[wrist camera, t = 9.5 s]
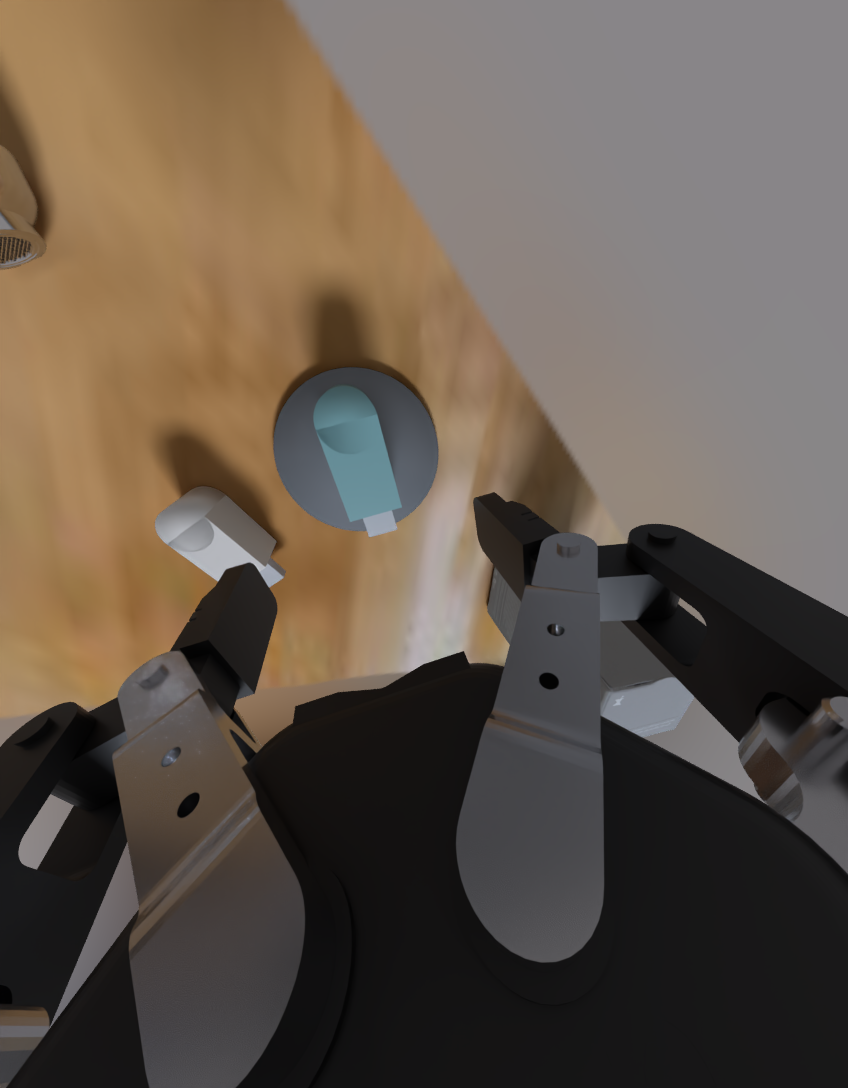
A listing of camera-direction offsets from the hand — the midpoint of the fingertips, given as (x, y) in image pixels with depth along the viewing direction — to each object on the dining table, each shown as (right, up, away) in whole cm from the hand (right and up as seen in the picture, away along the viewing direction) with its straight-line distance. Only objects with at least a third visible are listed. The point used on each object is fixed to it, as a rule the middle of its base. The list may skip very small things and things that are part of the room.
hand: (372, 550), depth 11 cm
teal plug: (-3, +7, +12) cm, 14 cm away
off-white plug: (-13, +1, +13) cm, 19 cm away
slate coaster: (-3, +7, +12) cm, 15 cm away
